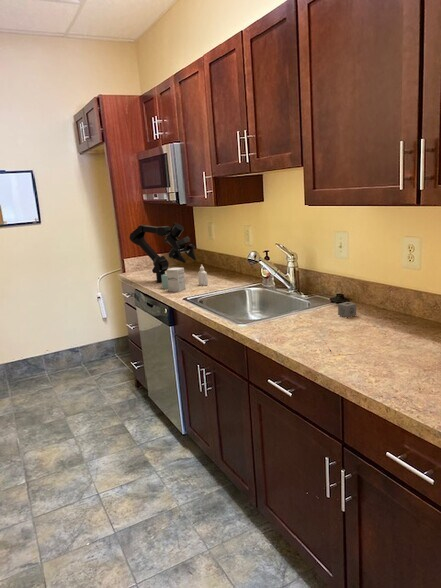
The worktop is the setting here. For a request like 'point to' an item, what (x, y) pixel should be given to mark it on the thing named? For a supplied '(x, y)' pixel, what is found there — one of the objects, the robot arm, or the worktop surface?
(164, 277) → the teal block
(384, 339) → the worktop surface
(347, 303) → the dice cube
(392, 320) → the worktop surface
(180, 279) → the supplement box
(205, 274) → the eye dropper bottle
